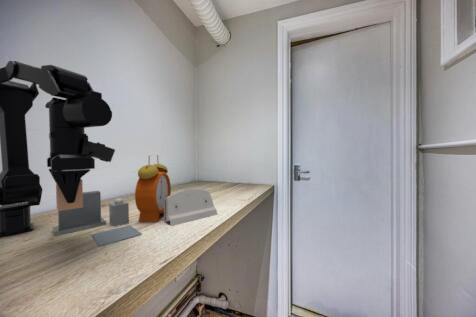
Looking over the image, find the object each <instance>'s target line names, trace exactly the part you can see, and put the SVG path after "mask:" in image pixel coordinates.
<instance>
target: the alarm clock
mask: <svg viewBox="0 0 476 317" xmlns="http://www.w3.org/2000/svg"><path fill="white" fill-rule="evenodd" d="M151 156H152V155H148V164H146V165H143V166H141V167H140V168H139V169H138V171H137V176H138V180H137V182H136V184H135V185H136V186H135V193H134V200H135V206H136V208H137V210H138V211H139V217H138V223H156V222H158V221H159V220H160V215H164V200H165V198H166V197H168V196H170V195H172V194H171V190H172V188H171V187H172V186H171V185H172V184H171V180H170V176H169V175H168V171H169V169H168V168H167V166H166V165H164V164H161V163H159V155H157V154H156V158H157V160H156V162H157V163H154V164H150V160H151Z"/></svg>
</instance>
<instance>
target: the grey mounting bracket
mask: <svg viewBox="0 0 476 317" xmlns="http://www.w3.org/2000/svg"><path fill="white" fill-rule="evenodd" d="M217 215H218V210H217V208H216V207H215V205H214V202H213V199H212V195H211V193H210V191H209V190H206V189H201V188H200V189H199V188H191V189H183V190H180V191H177V192H174V193H173V194H171V195H170V196H168V197H166V198H165V200H164V214H163V221H164V223H167V222H169V224H170V227H172V226H175V225H181V224H185V223H189V222H193V221H196V220H197V221H198V220H200V219H205V218H209V217H213V216H217Z"/></svg>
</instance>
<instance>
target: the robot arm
mask: <svg viewBox="0 0 476 317" xmlns="http://www.w3.org/2000/svg"><path fill="white" fill-rule="evenodd" d="M13 79H16V80H20V81H25V82H29V83H31V85H30V86H29V85H28V84H24V83H20V82H15V81H13ZM37 85H38V87H37ZM38 88H39V89H40V90H42V91H43V92H45V93H46V94H48V95H50V96H53V97H52V98H51V100H49V101H48V102H46V104H45V106H44V107H45V108H46V109H48V117H49V118H48V119H49V121H48V122H49V124H48V125H49V133H48V139H49V157H47V158H46V167H47V168H48V171H49V173H50V175H51V177H52V179H53V180H54V182H55V183H56V182H57V184H58V186H59V188H60V190H61V192H62V194H63V195H64V197H65V199H66V201H67V203H74V202H75V198H76V194H77V191H78V187H79V183H80V179H82V177H84V176H85V175H86V174H88V173H89V172H90V171H91V170H95V168H96V167H95V166H96V163H95V160H96V159H98V160H100V161H103V162H108V163H111V162H112V160H113V157H114V154H115V152H116V149H114V148H111V147H109V146H106V144H103V143H101V142H99V141H98V142H92V141H89V135H87V133H86V132H85V129H86V128H94V127H104V126H106V125H108V124H109V123H110V122H111V121H112V119H113V111H112V110H111V107H110V105H109V104H108V103H107V101H106V100H104V99H103V94H102V92H99V91H95V90H93V87H92V85H91V84H90V82H88V76H86V75H84V74H81V73H78V72H75V71H71V70H68V69H65V68H62V67H59V66H56V65H53V64H45V65H41V66H40V67H37V66H33V65H30V64H26V63H23V62H20V61H17V60H9V61H8V62H7V63H6V65H5V66H4V67H1V68H0V152H1V154H0V156H1V166H2V171H1V172H0V237H5V236H9V235H10V236H11V235H15V234H20V233H26V232H31V231H34V223H33V222H32V220H31V219H32V217H31V207H33V206H40V204H41V200H42V195H43V187H42V185H41V183H40V182H41V181H40V179H41V178H40V176H39V174H38V173H35V172H33V171H32V170H31V169H30V164H29V148H28V137H27V126H26V125H27V124H26V122H27V121H26V115H27V113H28V112H29V111H30V110H31V109H32V107H33V106H34V101H35V99H36V98H37V97H38V96H39V94H40V92H39V90H38Z"/></svg>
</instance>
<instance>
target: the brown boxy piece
mask: <svg viewBox="0 0 476 317" xmlns="http://www.w3.org/2000/svg"><path fill="white" fill-rule="evenodd" d="M83 190H84V189H83V179H82V178H81V179H80V183H79V187H78V191H77V194H76V198H75V202H74V203H67V201H66V199H65V197H64V195H63V194H62V192H61V190H60V188H59V186H58V184H57V182H55V193H56V195H55V198H56V209H57V212H58V211H63V210H69V209H76V208H82V207H83Z"/></svg>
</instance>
